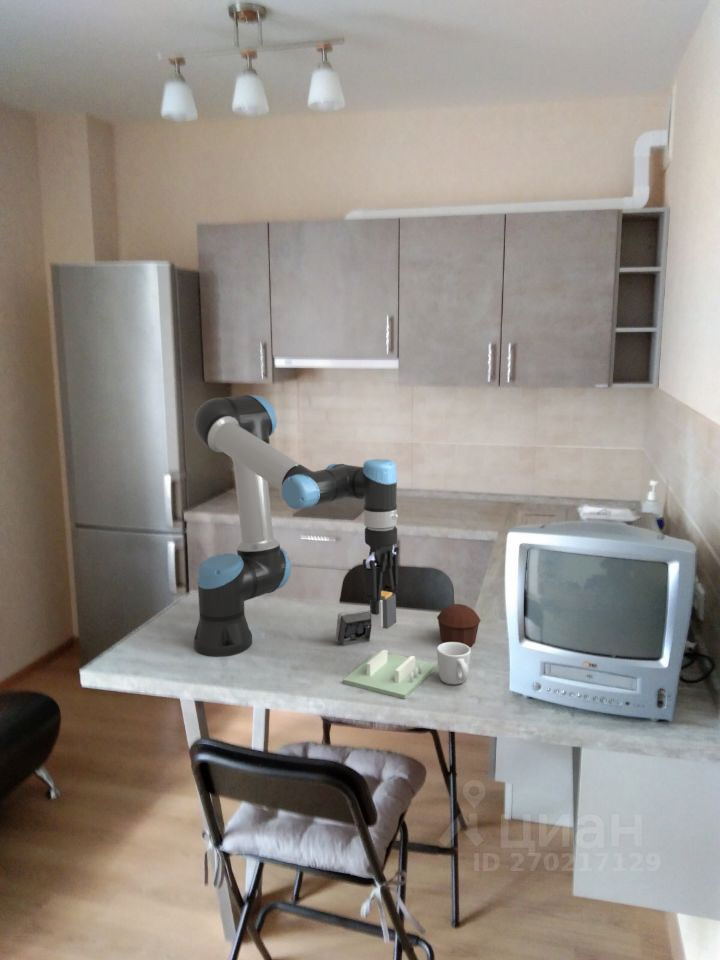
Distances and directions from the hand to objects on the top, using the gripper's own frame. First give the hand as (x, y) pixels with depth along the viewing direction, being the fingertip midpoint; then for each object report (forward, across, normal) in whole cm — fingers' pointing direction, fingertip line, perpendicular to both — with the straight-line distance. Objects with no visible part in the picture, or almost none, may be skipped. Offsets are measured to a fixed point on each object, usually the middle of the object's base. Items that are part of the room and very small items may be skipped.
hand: (382, 622), depth 177 cm
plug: (0, 0, 0) cm, 0 cm away
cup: (+14, +6, -16) cm, 22 cm away
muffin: (+14, +28, -8) cm, 32 cm away
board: (+14, +2, -1) cm, 14 cm away
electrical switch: (+14, +14, +16) cm, 25 cm away
